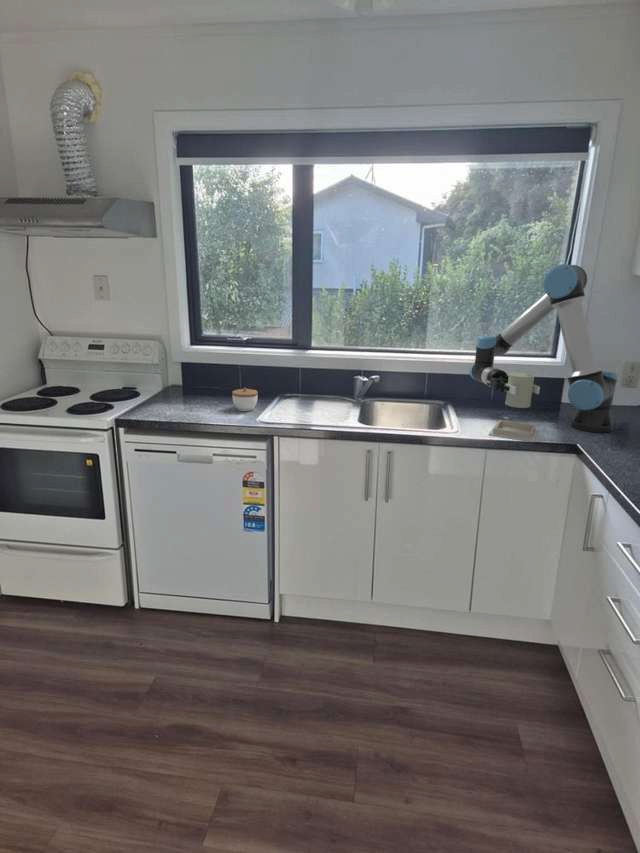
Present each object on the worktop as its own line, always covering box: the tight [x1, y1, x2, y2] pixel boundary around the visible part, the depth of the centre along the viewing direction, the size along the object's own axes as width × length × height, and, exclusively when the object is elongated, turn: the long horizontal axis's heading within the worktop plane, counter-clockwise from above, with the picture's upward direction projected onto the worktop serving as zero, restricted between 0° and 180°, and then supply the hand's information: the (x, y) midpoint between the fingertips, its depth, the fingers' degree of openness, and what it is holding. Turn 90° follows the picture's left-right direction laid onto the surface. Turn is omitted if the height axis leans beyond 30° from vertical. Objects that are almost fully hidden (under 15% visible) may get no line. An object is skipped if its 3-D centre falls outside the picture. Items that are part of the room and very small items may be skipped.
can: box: [504, 371, 536, 409], centre depth 201 cm, size 9×9×12 cm
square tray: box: [488, 419, 540, 443], centre depth 206 cm, size 16×16×2 cm
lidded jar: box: [231, 387, 259, 412], centre depth 228 cm, size 11×11×9 cm
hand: (527, 390), depth 197 cm, fingers closed on can, 9 cm apart
